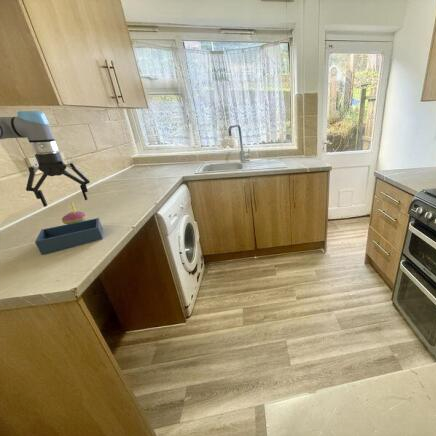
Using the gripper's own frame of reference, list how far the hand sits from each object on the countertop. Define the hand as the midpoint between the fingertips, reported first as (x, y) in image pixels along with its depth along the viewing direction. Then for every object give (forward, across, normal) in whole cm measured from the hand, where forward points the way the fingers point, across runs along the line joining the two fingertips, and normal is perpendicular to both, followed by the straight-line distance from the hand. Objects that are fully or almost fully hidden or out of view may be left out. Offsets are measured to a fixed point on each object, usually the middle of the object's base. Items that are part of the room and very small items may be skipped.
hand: (66, 202), depth 106 cm
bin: (+12, 0, -16) cm, 20 cm away
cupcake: (+12, +1, 0) cm, 12 cm away
